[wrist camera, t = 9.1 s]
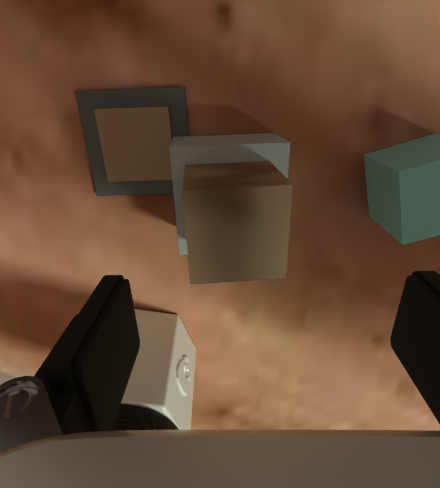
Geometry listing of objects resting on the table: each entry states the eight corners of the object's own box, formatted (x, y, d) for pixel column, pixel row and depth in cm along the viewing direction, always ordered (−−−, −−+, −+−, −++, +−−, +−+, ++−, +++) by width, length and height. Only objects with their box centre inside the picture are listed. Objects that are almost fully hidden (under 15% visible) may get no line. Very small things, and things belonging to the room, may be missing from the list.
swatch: (184, 86, 21) (183, 87, 20) (192, 191, 24) (191, 193, 23) (76, 90, 21) (72, 90, 20) (98, 194, 24) (95, 197, 23)
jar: (206, 363, 32) (202, 505, 21) (132, 382, 33) (93, 527, 22) (170, 294, 28) (144, 425, 17) (88, 319, 29) (15, 456, 18)
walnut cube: (269, 160, 19) (293, 184, 14) (266, 237, 21) (285, 278, 17) (185, 164, 19) (182, 190, 14) (191, 241, 21) (190, 284, 16)
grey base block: (274, 132, 22) (290, 142, 18) (270, 225, 25) (283, 249, 22) (173, 136, 22) (169, 147, 18) (181, 230, 25) (179, 255, 21)
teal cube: (435, 133, 22) (490, 145, 18) (434, 198, 24) (483, 223, 20) (363, 154, 23) (399, 171, 18) (368, 216, 25) (402, 245, 21)
